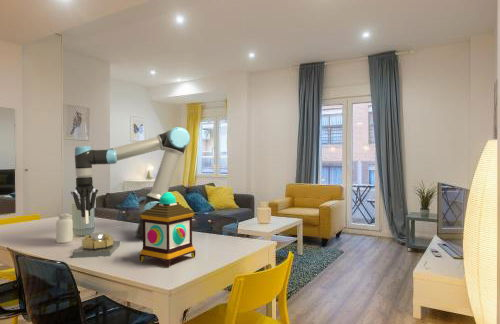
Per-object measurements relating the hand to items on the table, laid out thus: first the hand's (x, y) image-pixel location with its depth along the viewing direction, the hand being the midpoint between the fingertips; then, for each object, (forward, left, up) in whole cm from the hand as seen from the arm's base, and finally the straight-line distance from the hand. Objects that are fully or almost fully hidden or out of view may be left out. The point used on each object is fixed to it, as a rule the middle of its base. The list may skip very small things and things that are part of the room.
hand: (86, 223), depth 171 cm
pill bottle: (+16, -16, -13) cm, 26 cm away
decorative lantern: (-43, +28, -13) cm, 53 cm away
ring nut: (-6, +5, -9) cm, 12 cm away
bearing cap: (-8, +8, -12) cm, 17 cm away
